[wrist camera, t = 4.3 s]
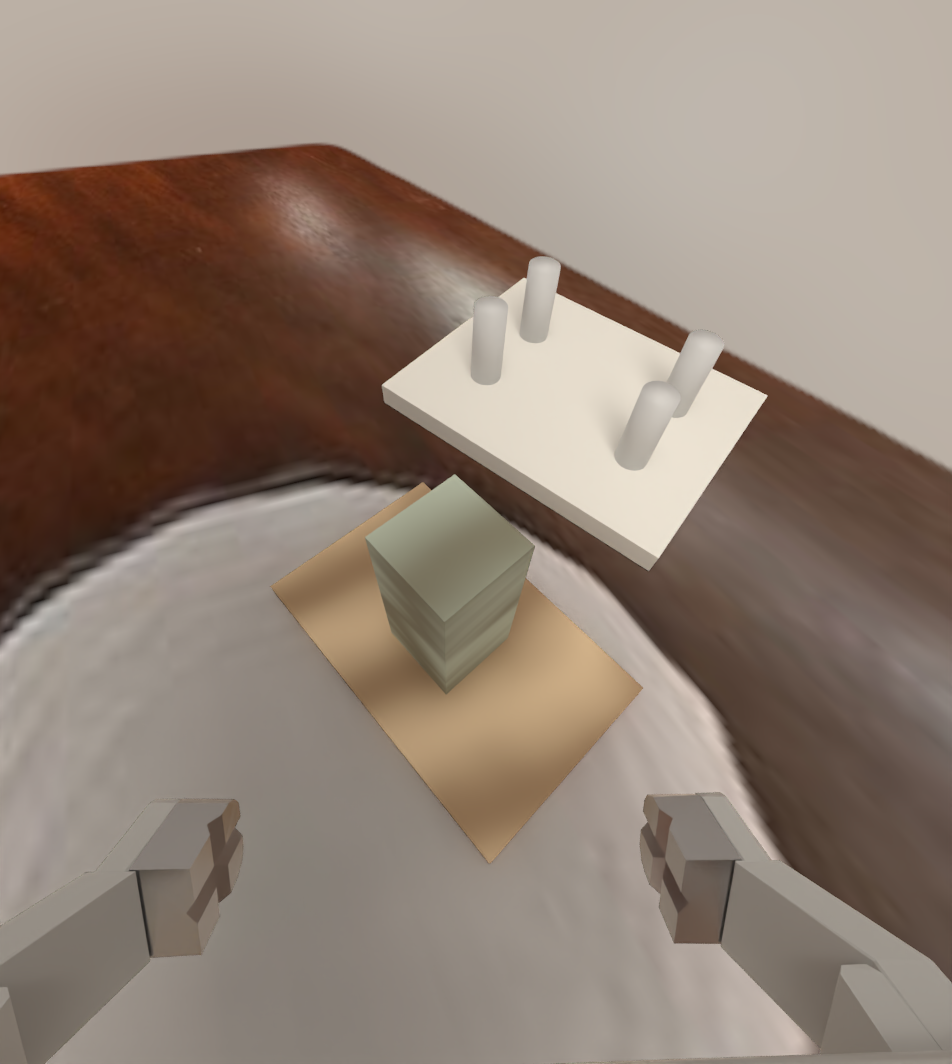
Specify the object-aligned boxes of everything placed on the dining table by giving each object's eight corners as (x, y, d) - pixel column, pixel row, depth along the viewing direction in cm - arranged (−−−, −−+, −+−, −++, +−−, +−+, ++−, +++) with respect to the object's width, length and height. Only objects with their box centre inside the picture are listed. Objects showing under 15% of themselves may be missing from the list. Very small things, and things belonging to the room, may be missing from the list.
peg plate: (384, 402, 33) (371, 315, 28) (521, 295, 40) (532, 209, 35) (648, 571, 27) (698, 504, 22) (756, 412, 34) (814, 330, 29)
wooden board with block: (277, 596, 26) (191, 476, 17) (423, 494, 30) (413, 354, 21) (487, 862, 20) (516, 881, 12) (635, 694, 24) (738, 614, 16)
